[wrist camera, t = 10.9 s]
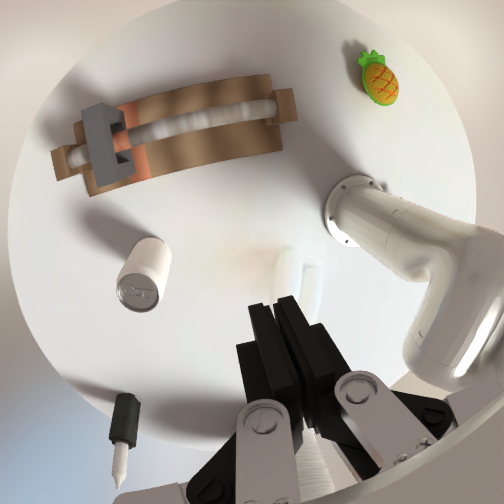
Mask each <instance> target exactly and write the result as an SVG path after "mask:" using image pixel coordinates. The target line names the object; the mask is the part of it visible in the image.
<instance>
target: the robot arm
mask: <svg viewBox="0 0 504 504" xmlns="http://www.w3.org/2000/svg"><path fill="white" fill-rule="evenodd" d="M341 187H342V188H341ZM329 217H330V218H329ZM325 223H326V227H327V229H328V231H329V233H330V234H331V236H332V237H333V238H334V239H335V240H337V241H338V242H339V243H341V244H343V245H345V246H350V247H357V246H360V247H361V248H362V249H364V250H365V251H366V252H368V253H369V254H370V255H372V256H373V257H374V258H375V259H377V260H378V261H379V262H381V263H382V264H383V265H385V266H386V267H387V268H388V269H390V270H391V271H392V272H393V273H395V274H396V275H397V276H399V277H400V278H402V279H404V280H406V281H409V282H425V281H430V283H429V285H428V288H427V291H426V293H425V297H424V299H423V301H422V304H421V306H420V308H419V310H418V313H417V315H416V317H415V319H414V321H413V323H412V325H411V327H410V329H409V331H408V334H407V336H406V338H405V341H404V344H403V350H402V355H403V360H404V362H405V364H406V366H407V367H408V369H409V370H410V371H411V372H412V373H413V374H414V375H415V376H417V377H418V378H420V379H421V380H423V381H425V382H427V383H428V384H431V385H433V386H435V387H438V388H441V389H444V390H446V391H449V392H452V393H453V394H450V395H448V396H446V398H445V399H443V400H439V399H435V398H429V397H423V396H418V395H413V394H407V393H403V392H398V391H393V390H389V388H388V387H387V386H386V385H385V384H384V383H383V382H382V381H381V380H380V379H379V378H378V377H377V376H376V375H374V374H373V373H370V372H367V371H351V369H350V368H349V366H348V364H347V363H346V361H345V360H344V358H343V356H342V355H341V353H340V351H339V350H338V348H337V347H336V345H335V343H334V342H333V340H332V338H331V337H330V335H329V334H328V332H327V330H326V329H325V327H324V326H323V324H321V323H318V324H315V325H311V326H310V325H309V324H308V322H307V320H306V318H305V317H304V315H303V313H302V311H301V309H300V308H299V306H298V304H297V302H296V301H295V299H294V297H293V296H292V295H291V296H287V297H283V298H279V299H278V303H275V304H273V309H274V315H275V319H274V316H273V314H272V311H271V309H270V306H269V305H267V306H263V303H259V304H254V305H250V306H248V309H249V314H250V318H251V323H252V327H253V332H254V336H255V341H251V342H246V343H242V344H238V345H236V348H237V354H238V359H239V364H240V369H241V374H242V379H243V384H244V389H245V394H246V399H247V403H248V404H247V405H246V406H245V407H244V408H242V409H241V411H240V413H239V414H238V417H237V429H236V432H235V433H234V434H233V435H232V437H231V438H230V439H229V440H228V441H227V442H226V443H225V444H224V445H223V446H222V448H221V449H220V450H219V451H218V452H217V453H216V454H215V455H214V456H213V457H212V458H211V459H210V460H209V461H208V462H207V463H206V464H205V465H204V467H202V469H200V471H199V472H198V473H197V474H195V475H194V476H193V477H192V479H191V480H190V481H189V482H185V483H181V484H179V483H173V484H169V485H164V486H160V487H155V488H150V489H145V490H139V491H133V492H127V493H123V494H120V495H119V496H118V497H116V498H115V500H114V502H113V504H504V235H502V234H500V233H498V232H496V231H494V230H491V229H488V228H485V227H481V226H477V225H473V224H469V223H465V222H462V221H459V220H455V219H452V218H449V217H447V216H444V215H441V214H439V213H436V212H434V211H431V210H429V209H426V208H424V207H421V206H419V205H416V204H414V203H411V202H409V201H406V200H404V199H402V198H401V197H396V196H393V195H391V194H388V193H385V192H384V190H383V188H382V187H381V186H380V184H379V183H378V182H376V181H375V180H374V179H371V178H369V177H366V176H361V175H356V176H350V177H348V178H345V179H344V180H342V181H341V182H339V183H338V184H337V185H336V186H335V187H334V189H333V190H332V191H331V193H330V195H329V197H328V199H327V202H326V205H325ZM303 417H304V420H305V423H306V425H307V427H308V429H310V428H314V431H315V433H316V434H319V433H320V434H321V437H322V438H325V439H328V440H331V443H332V445H333V446H334V448H335V449H336V451H337V453H338V454H339V455H340V457H341V458H342V460H343V461H344V463H345V464H346V466H347V467H348V469H349V470H350V472H351V473H352V475H353V476H354V477H355V479H356V480H357V482H358V484H355V485H353V486H350V487H348V488H345V489H342V490H340V491H337V492H334V493H331V494H328V495H325V496H322V497H319V498H316V499H312V500H309V501H305V502H302V503H301V500H300V491H299V483H298V475H297V467H296V459H295V455H296V453H297V452H298V450H299V449H300V447H301V446H302V444H303V433H302V431H303V430H304V424H303Z"/></svg>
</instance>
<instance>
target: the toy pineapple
mask: <svg viewBox="0 0 504 504" xmlns="http://www.w3.org/2000/svg"><path fill="white" fill-rule="evenodd" d="M357 62H358V63H359V64H360V65H361V66H362V68H363V71H362V81H363V86H364V88H365V90H366V92H367V94H368V95H369V96H370V98H371V99H372V100H373V101H374V102H375V103H377V104H379V105H382V106H387V105H391V104H393V103H394V102H395V100H396V99H397V95H398V91H399V87H398V81H397V79H396V77H395V75H394V73H393V72H392V71H391V70H390V69H389V68H388V67H387V66H386V65H385V57H384V56H383V55H378V53H377V52H376V51H375V50H372V51H371V54H370V55H369V54H367V53H366V52H365V51H362V52H361V58H358V59H357Z"/></svg>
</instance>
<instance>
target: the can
mask: <svg viewBox="0 0 504 504" xmlns="http://www.w3.org/2000/svg"><path fill="white" fill-rule="evenodd" d="M170 264H171V252H170V249H169V248H168V246H167V245H166V244H165V243H164V242H163V241H161V240H159V239H157V238H145V239H142V240H141V241H139V242H138V243H137V244H136V245H135V247H134V249H133V250H132V252H131V254H130V255H129V257H128V259H127V260H126V262H125V264H124V266H123V268H122V269H121V271H120V273H119V275H118V278H117V296H118V298H119V300H120V302H121V303H122V304H123V305H124V306H125V307H126V308H128V309H129V310H131V311H134V312H140V313H142V312H148V311H150V310H152V309H154V308H155V307H156V305H157V304H158V303H159V302H160V300H161V299H162V297H163V294H164V291H165V286H166V282H167V277H168V273H169V268H170Z"/></svg>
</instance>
